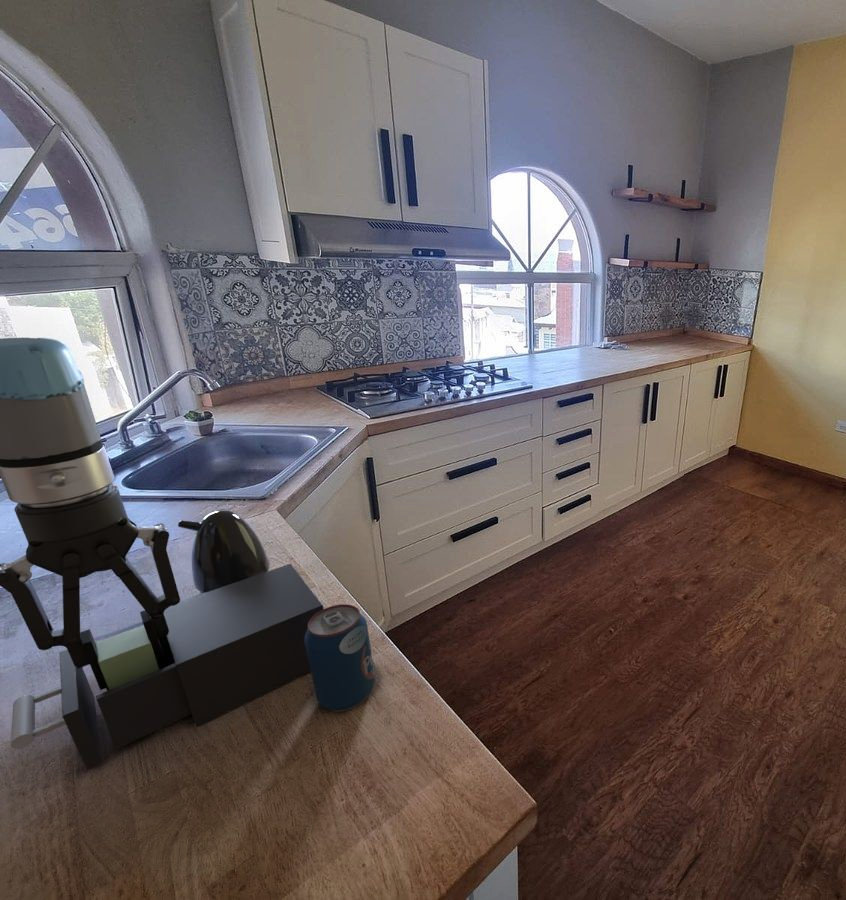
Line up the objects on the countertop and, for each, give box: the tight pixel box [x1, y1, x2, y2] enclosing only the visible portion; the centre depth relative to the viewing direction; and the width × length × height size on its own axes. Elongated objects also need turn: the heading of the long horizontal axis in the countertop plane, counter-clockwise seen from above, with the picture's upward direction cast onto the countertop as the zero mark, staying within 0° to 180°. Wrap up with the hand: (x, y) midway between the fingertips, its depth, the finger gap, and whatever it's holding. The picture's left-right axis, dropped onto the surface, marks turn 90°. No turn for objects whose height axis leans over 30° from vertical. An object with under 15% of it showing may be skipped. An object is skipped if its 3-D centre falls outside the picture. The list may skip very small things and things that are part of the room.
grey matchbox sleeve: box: [164, 563, 325, 728], centre depth 68 cm, size 16×14×10 cm
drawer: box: [10, 636, 192, 771], centre depth 60 cm, size 19×12×8 cm, turn 136°
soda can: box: [304, 603, 376, 712], centre depth 63 cm, size 7×7×12 cm
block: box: [95, 624, 160, 690], centre depth 59 cm, size 4×4×4 cm
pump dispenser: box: [177, 509, 271, 594], centre depth 81 cm, size 10×10×15 cm
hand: (133, 669), depth 59 cm, fingers closed on block, 4 cm apart
